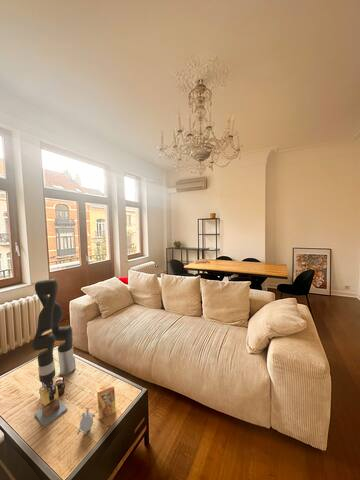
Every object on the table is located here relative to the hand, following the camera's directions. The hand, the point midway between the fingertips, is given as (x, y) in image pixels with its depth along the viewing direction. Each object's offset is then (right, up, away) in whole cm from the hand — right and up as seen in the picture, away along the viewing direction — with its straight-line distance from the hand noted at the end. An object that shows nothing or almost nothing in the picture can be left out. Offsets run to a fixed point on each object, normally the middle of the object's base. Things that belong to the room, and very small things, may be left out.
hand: (49, 397), depth 114 cm
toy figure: (+26, -10, -10) cm, 29 cm away
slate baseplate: (0, -9, +1) cm, 9 cm away
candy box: (+33, -9, 0) cm, 34 cm away
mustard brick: (0, -1, 0) cm, 1 cm away
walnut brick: (0, -8, +1) cm, 8 cm away
